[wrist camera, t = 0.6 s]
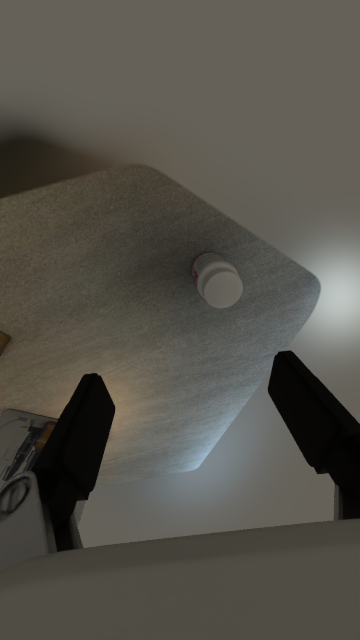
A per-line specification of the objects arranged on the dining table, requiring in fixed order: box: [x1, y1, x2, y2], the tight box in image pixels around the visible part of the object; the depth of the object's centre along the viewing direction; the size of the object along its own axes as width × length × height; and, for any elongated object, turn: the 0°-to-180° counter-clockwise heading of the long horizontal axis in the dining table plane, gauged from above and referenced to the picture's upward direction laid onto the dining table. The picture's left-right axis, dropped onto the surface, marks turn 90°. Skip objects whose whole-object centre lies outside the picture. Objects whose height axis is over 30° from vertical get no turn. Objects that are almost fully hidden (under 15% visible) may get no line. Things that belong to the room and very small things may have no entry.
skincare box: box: [0, 409, 86, 527], centre depth 35 cm, size 21×6×16 cm, turn 62°
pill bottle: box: [192, 252, 243, 309], centre depth 22 cm, size 5×5×8 cm
